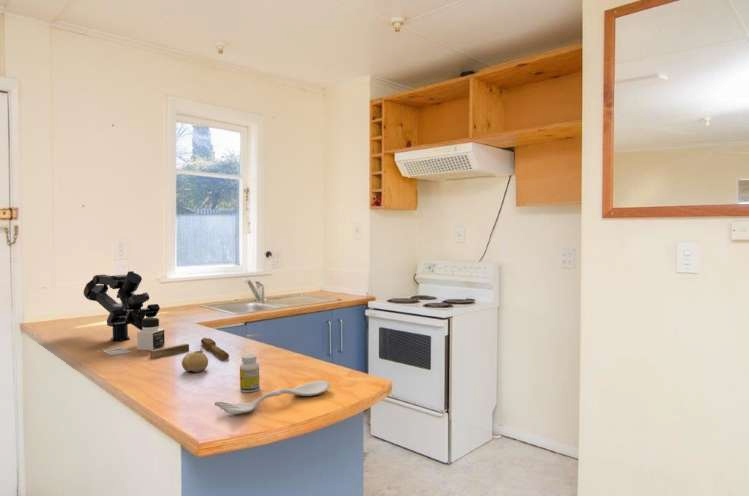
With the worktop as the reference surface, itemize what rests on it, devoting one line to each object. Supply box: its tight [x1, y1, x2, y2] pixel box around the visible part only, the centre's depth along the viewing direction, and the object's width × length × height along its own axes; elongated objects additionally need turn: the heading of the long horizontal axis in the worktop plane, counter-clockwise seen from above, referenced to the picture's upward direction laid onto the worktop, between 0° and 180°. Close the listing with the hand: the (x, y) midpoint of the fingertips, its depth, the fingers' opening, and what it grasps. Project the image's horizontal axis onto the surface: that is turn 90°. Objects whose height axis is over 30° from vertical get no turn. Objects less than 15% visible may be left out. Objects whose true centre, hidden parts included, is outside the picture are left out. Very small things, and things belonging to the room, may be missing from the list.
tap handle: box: [200, 337, 230, 361], centre depth 188 cm, size 3×3×30 cm
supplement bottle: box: [239, 354, 261, 394], centre depth 142 cm, size 5×5×10 cm
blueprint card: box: [102, 347, 131, 356], centre depth 188 cm, size 10×7×1 cm
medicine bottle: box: [136, 316, 166, 352], centre depth 193 cm, size 7×7×12 cm
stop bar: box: [149, 343, 190, 359], centre depth 184 cm, size 2×14×2 cm, turn 141°
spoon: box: [214, 380, 331, 415], centre depth 132 cm, size 9×32×4 cm, turn 133°
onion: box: [181, 348, 209, 374], centre depth 162 cm, size 8×8×7 cm
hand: (142, 329), depth 198 cm, fingers closed
